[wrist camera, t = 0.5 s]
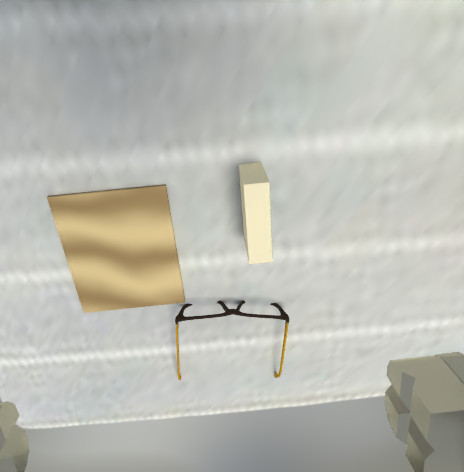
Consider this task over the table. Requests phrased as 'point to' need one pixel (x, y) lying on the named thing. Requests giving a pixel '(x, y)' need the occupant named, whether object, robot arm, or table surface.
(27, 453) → the robot arm
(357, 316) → the table surface
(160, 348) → the table surface
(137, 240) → the mat
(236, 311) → the eyeglasses
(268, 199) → the card box
